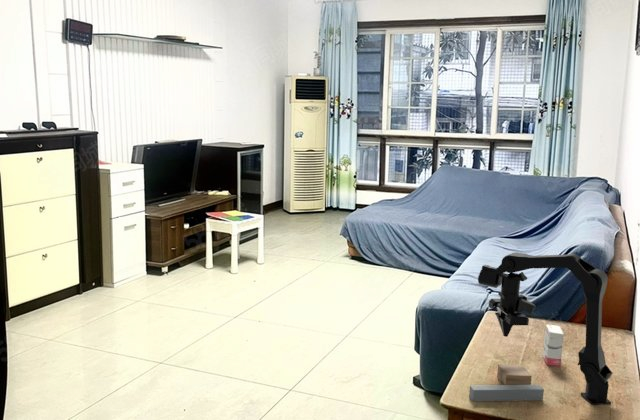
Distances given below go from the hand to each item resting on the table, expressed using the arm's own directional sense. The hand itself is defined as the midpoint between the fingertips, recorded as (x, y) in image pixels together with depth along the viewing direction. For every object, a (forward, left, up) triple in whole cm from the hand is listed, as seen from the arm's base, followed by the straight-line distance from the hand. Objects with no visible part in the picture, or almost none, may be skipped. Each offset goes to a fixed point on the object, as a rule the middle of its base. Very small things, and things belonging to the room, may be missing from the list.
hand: (505, 336), depth 201 cm
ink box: (+7, -21, -12) cm, 25 cm away
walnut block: (-9, 0, -12) cm, 15 cm away
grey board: (-19, +7, -12) cm, 24 cm away
